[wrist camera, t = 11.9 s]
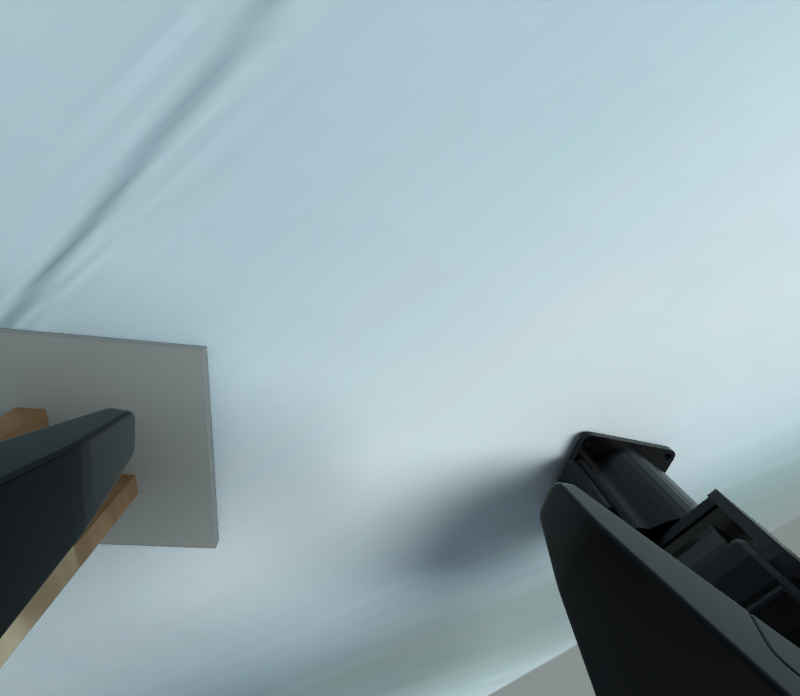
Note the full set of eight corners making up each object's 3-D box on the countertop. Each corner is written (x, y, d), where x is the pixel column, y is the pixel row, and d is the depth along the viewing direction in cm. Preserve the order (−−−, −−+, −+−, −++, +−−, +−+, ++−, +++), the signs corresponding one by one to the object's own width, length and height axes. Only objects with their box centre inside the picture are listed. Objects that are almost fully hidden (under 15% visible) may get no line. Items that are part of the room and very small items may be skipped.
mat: (206, 346, 21) (201, 350, 20) (218, 540, 26) (215, 548, 25) (-87, 320, 19) (-101, 324, 18) (-13, 531, 24) (-22, 539, 24)
